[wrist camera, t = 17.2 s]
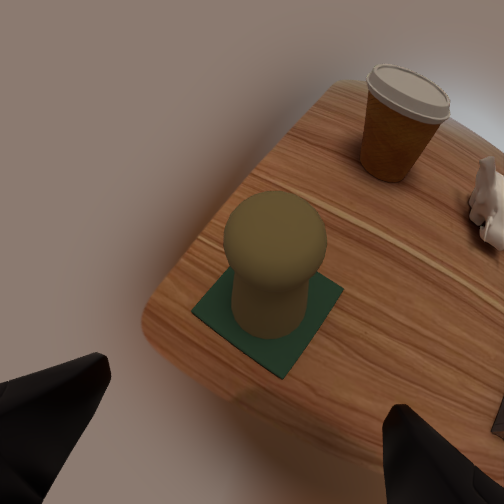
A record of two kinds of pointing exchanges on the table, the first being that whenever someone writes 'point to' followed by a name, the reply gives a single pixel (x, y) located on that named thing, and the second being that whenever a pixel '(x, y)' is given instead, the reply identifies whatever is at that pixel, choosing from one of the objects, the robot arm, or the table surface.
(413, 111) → the disposable coffee cup
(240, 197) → the table surface
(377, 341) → the table surface
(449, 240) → the table surface
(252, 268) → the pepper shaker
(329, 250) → the table surface
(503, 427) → the holder
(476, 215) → the elephant figurine
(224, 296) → the coaster
